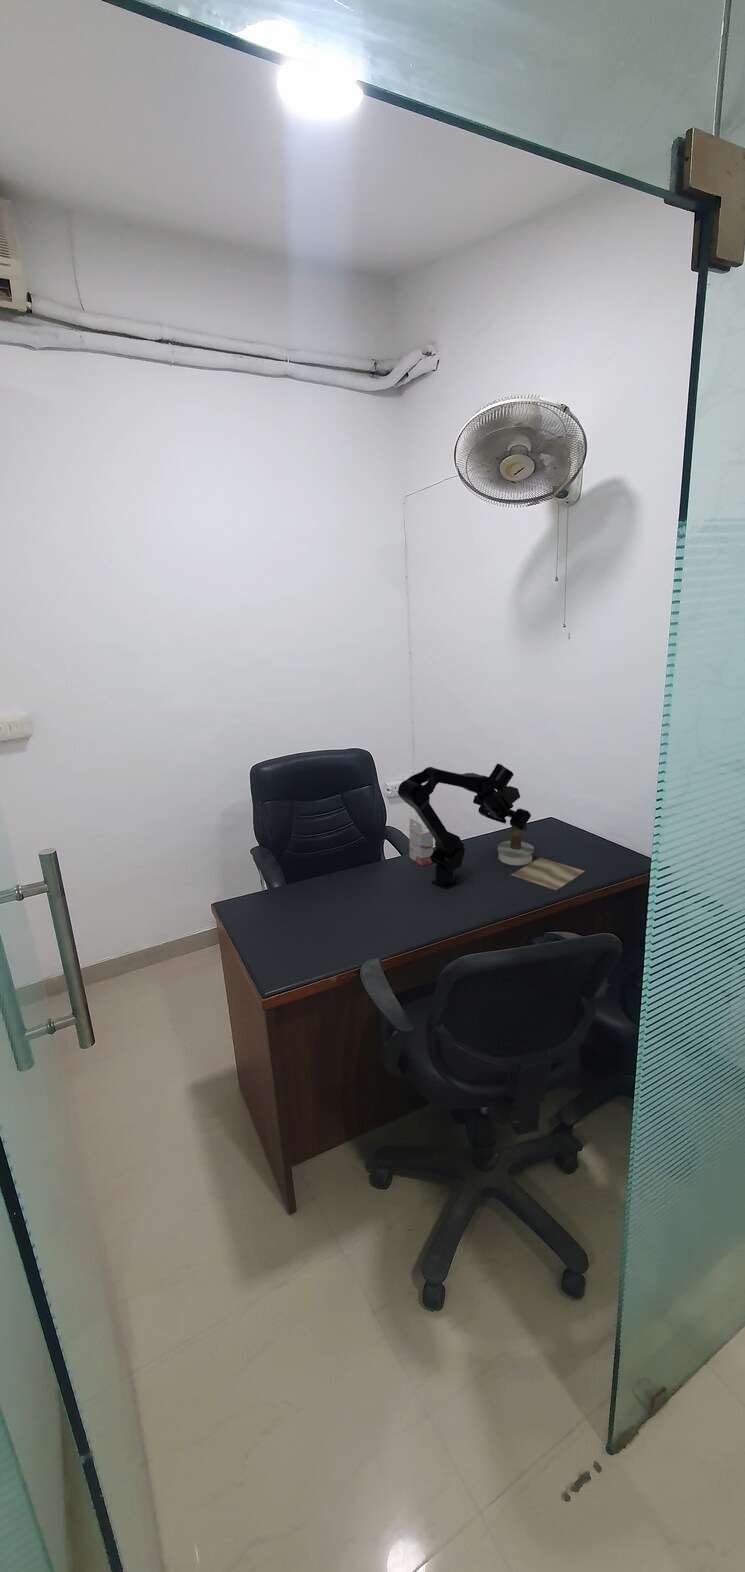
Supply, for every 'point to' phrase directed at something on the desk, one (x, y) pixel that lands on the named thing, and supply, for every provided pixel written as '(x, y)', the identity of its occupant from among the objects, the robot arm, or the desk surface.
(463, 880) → the desk surface
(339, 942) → the desk surface
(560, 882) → the mat
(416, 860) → the ink cartridge box
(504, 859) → the bowl
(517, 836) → the lid
